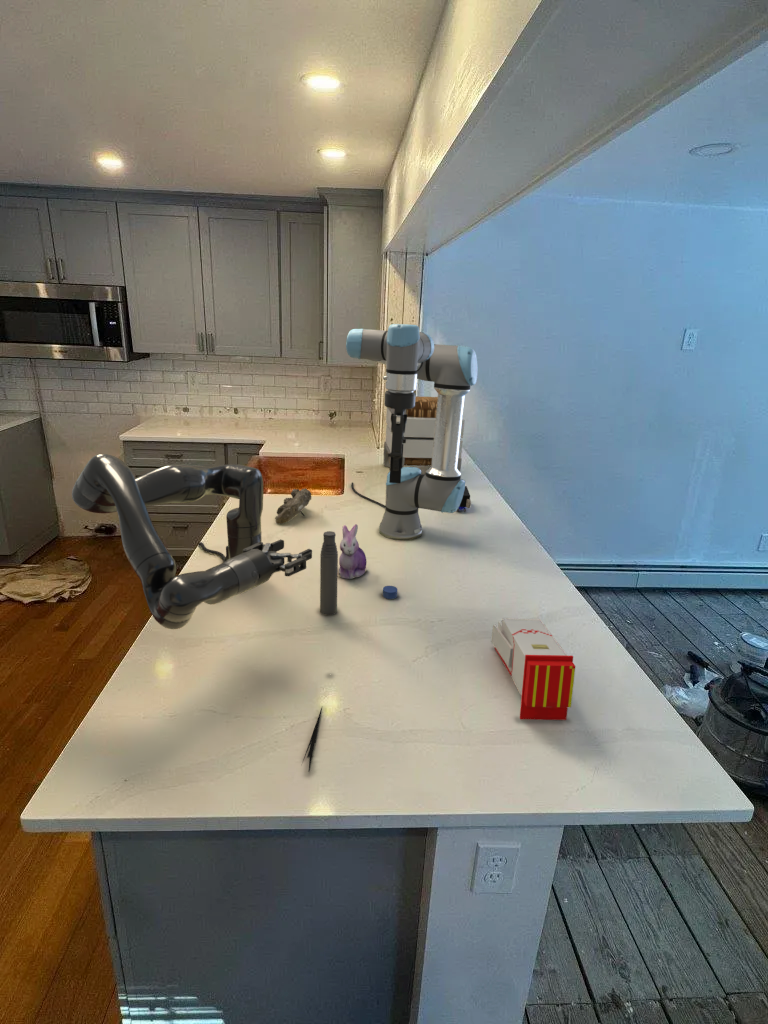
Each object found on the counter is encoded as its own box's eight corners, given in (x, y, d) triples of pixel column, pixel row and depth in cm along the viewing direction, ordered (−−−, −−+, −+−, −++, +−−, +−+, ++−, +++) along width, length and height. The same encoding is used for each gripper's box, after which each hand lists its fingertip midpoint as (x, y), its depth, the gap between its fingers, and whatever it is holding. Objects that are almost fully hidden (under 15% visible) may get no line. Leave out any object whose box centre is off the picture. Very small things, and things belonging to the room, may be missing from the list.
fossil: (280, 494, 222) (309, 474, 217) (296, 512, 224) (325, 493, 219) (264, 519, 202) (296, 497, 197) (282, 539, 205) (313, 518, 200)
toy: (537, 603, 136) (584, 662, 106) (532, 655, 138) (577, 726, 109) (487, 602, 135) (520, 661, 106) (483, 654, 138) (514, 725, 109)
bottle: (339, 613, 147) (340, 535, 139) (323, 616, 145) (324, 537, 137) (333, 605, 150) (334, 529, 143) (317, 608, 148) (318, 531, 141)
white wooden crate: (382, 463, 289) (386, 382, 275) (445, 464, 293) (451, 384, 279) (390, 482, 257) (394, 392, 243) (460, 483, 261) (468, 394, 247)
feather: (331, 679, 122) (336, 673, 122) (307, 777, 96) (313, 769, 95) (324, 675, 122) (329, 669, 121) (298, 772, 95) (304, 764, 95)
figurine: (344, 582, 162) (345, 534, 157) (330, 568, 171) (331, 521, 166) (373, 577, 167) (375, 529, 162) (359, 563, 175) (360, 517, 170)
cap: (379, 594, 157) (379, 587, 157) (391, 590, 159) (392, 584, 159) (387, 600, 154) (388, 593, 153) (400, 597, 156) (400, 590, 156)
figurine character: (470, 516, 223) (465, 500, 237) (473, 499, 220) (467, 484, 233) (453, 516, 223) (449, 500, 236) (455, 498, 220) (451, 483, 233)
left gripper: (221, 578, 123) (274, 555, 136) (269, 598, 116) (320, 571, 128) (219, 547, 120) (273, 525, 133) (268, 565, 113) (320, 540, 126)
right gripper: (387, 383, 150) (384, 461, 157) (381, 397, 126) (378, 488, 133) (416, 385, 149) (411, 463, 157) (415, 399, 126) (409, 490, 133)
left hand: (296, 548), depth 131 cm, fingers open, 8 cm apart
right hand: (396, 475), depth 145 cm, fingers open, 13 cm apart
